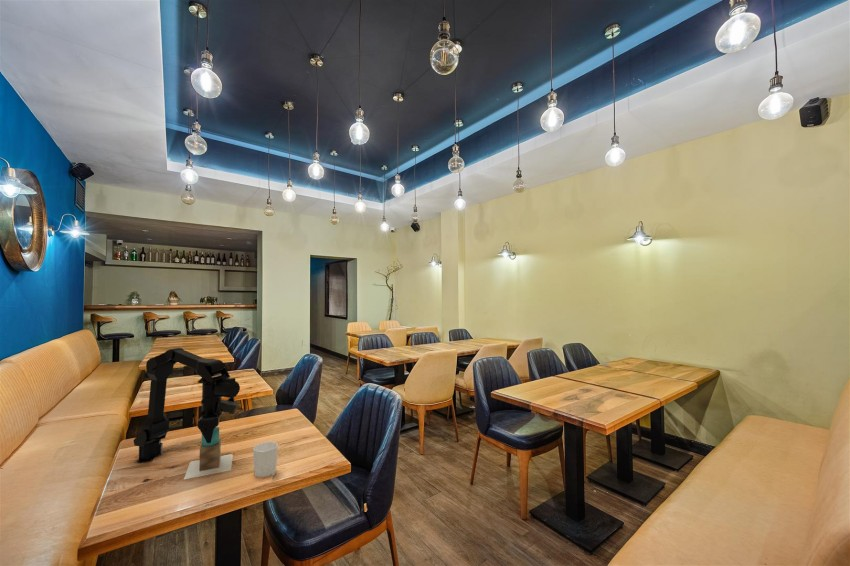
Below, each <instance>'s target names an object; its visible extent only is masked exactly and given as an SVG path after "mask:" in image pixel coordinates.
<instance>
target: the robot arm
mask: <svg viewBox="0 0 850 566" xmlns="http://www.w3.org/2000/svg"><path fill="white" fill-rule="evenodd" d="M177 363H178V364H181V365H183V366H185V367H188V368H191V369H193V370H195V374H196V375H197V376H199V377H200V379H198V380H197V384H201V385H202V389H201V390H202V391H201V393H202V394H201V401H200V403H201V411H200V418H198V420H197V429H198V430H199V431H200V433H201V435H202V434H203V436H204V438H205V440H206V442H207V443H211V440H212V435H213V431H214V428H215V427H219V425H220V416H221V415H222V412H224V413H228V414H230V415H233V414H235V412H236V409H237V407H238V402H237V401H235V397H237V396H238V394H239V392H240V389H241V386H240V384H239V382H238V381H236V378H235V377H231V375H230V373H229V372H228V369H227V368H226V367H225V365H224V362H223V361H222V360H221V359H216V358H206V357H205V358H204V357H202V356H199V355H197V354H194V353H192V352H190V351H187V350H185V349H184V348H183V347H177V348H176V347H175V348H169V349H168V350H166V351H165V352H162V353H160V354H158V355H156V356H154V357H150V358H149V359H148V360H147V361H146V365H145V368H146V370H145V371H146V374H147V376H148V377H149V379H150V387H149V396H148V397H149V398H148V406H147V407H148V408H147V417H146V418H145V420H144V421H143V422H142V424H141V427H140V430H139V431H140V432H139V433H138V434H137V435H136V437H135V438H134V439H133V444H134V446H135V447H138V460H136V463H137V464H139V463H145V462H149V461H151V462H152V461H154V460H155V457H159V456H162V454H163V445H164V444H163V442H162V440H163V439H166V436H167V434H168V431H169V430H170V419H169V418H166V416H165V407H166V406H165V404H166V392H167V381H168V378H169V376H170V375H171V374H172V372H173V371H174V366H175V365H176V364H177ZM230 377H231V378H230ZM223 398H228V399H223Z"/></svg>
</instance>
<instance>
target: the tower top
mask: <svg viewBox="0 0 850 566" xmlns="http://www.w3.org/2000/svg"><path fill="white" fill-rule="evenodd" d="M221 445H222V443H221V438H219V443H218V444H216V445H214V446H210V447H202V442H201V444H200V447H199V460H202V459H207V458H213V457H218V456H219V455H220V456H221V452H220V450H221Z"/></svg>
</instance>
